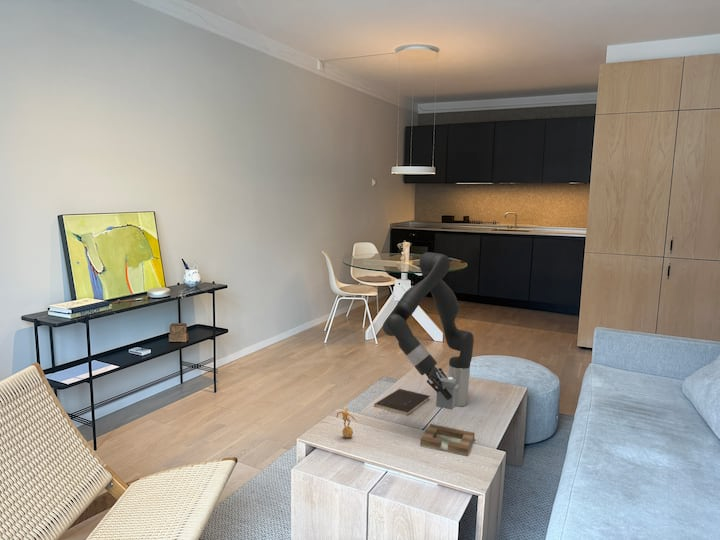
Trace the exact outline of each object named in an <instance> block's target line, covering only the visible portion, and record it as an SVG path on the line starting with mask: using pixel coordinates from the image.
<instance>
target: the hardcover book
mask: <svg viewBox="0 0 720 540" xmlns="http://www.w3.org/2000/svg"><path fill="white" fill-rule="evenodd" d="M429 398H430V395H428V394H424V393H419V392H416V391H411V390H407V389H402V388H398V389H397V390H395V391H393V392H391V393H390V394H388V395H387V396H385V397H383V398H382V399H380V400H378V401H376V402H375V403H374V404H373V405H374V407H375V408H378V409H383V410H385V411H391V412H393V413H397V414H401V415H405V416H408V415H409V414H411V413H412V412H413V411H415V410H416V409H418V408H420V407H421V406H422V405H423V404H425V403H426V402H428V401H429Z"/></svg>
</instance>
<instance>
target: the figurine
mask: <svg viewBox="0 0 720 540" xmlns="http://www.w3.org/2000/svg"><path fill="white" fill-rule="evenodd" d="M348 410H349V409H348V407H345V408H344V409H343V410H340V411H338V412H337V413H336V418H338V417H339V414H341V415H342V421H343V426H344V427H343V428H342V433H341V434H342V436H343V437H344V438H351V437H352V436H353V434H354V430H353V428H352V427H351V426H350V423H351V420H350V418H349V417H351V418H352V419H353V420H354V422H357V419H356V418H355V417H354V416H353V415H352V414H351V413H350V412H349V411H348ZM348 416H349V417H348ZM346 421H347V422H348V423H346ZM346 424H347V425H346Z"/></svg>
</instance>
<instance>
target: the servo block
mask: <svg viewBox="0 0 720 540" xmlns="http://www.w3.org/2000/svg"><path fill="white" fill-rule="evenodd" d="M441 380H442V384H443V385H444V387H445V389H447V391H448V392H449V393H450V394H451V396H452V397H451V398H450V399H449V400H447V399H446V398H445V397H444V396H443V394H442V393H441V392H438V393H437V392H436V401H435V407H437V408H443V409H447V410H453V409H454V408H455V407H456V406H455V396H456V390H457V388H458V387H459V385H457V384H456V381H457V379H453V377H448V376H447V378H445V377H444V378H441ZM438 382H439V380H438Z"/></svg>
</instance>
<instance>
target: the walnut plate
mask: <svg viewBox="0 0 720 540" xmlns="http://www.w3.org/2000/svg"><path fill="white" fill-rule="evenodd" d="M475 434H476V433H475V432H474V431H468V430H463V429H459V428H453V427H448V426H444V425H438V424H432V423H429V426H428V427H427V428H426V431H424V433H423V435H422V436H421V438H420V439H419V446H420V447H424V448H428V449H433V450H437V451H442V452H446V453H451V454H457V455H461V456H466V457H468V455H469V454H470V453H469V452H470V450H471V447H472V446H473V443H474V441H475Z"/></svg>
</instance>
